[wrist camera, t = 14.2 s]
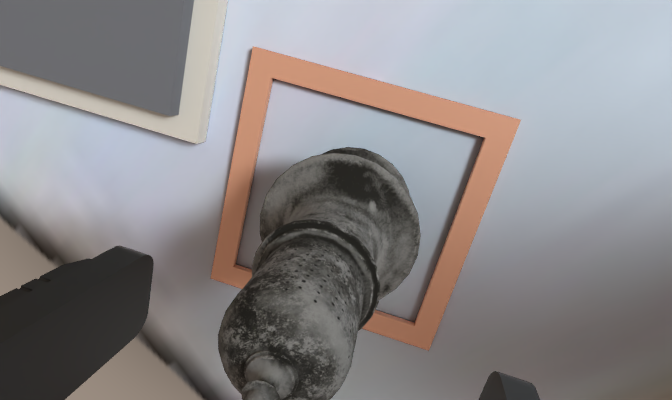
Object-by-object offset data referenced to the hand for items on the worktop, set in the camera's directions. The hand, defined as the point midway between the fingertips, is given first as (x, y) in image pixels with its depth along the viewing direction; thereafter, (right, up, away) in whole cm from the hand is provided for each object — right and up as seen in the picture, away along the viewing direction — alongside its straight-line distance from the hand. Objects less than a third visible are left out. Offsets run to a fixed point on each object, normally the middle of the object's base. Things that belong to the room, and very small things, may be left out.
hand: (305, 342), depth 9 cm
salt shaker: (+1, +3, +9) cm, 10 cm away
